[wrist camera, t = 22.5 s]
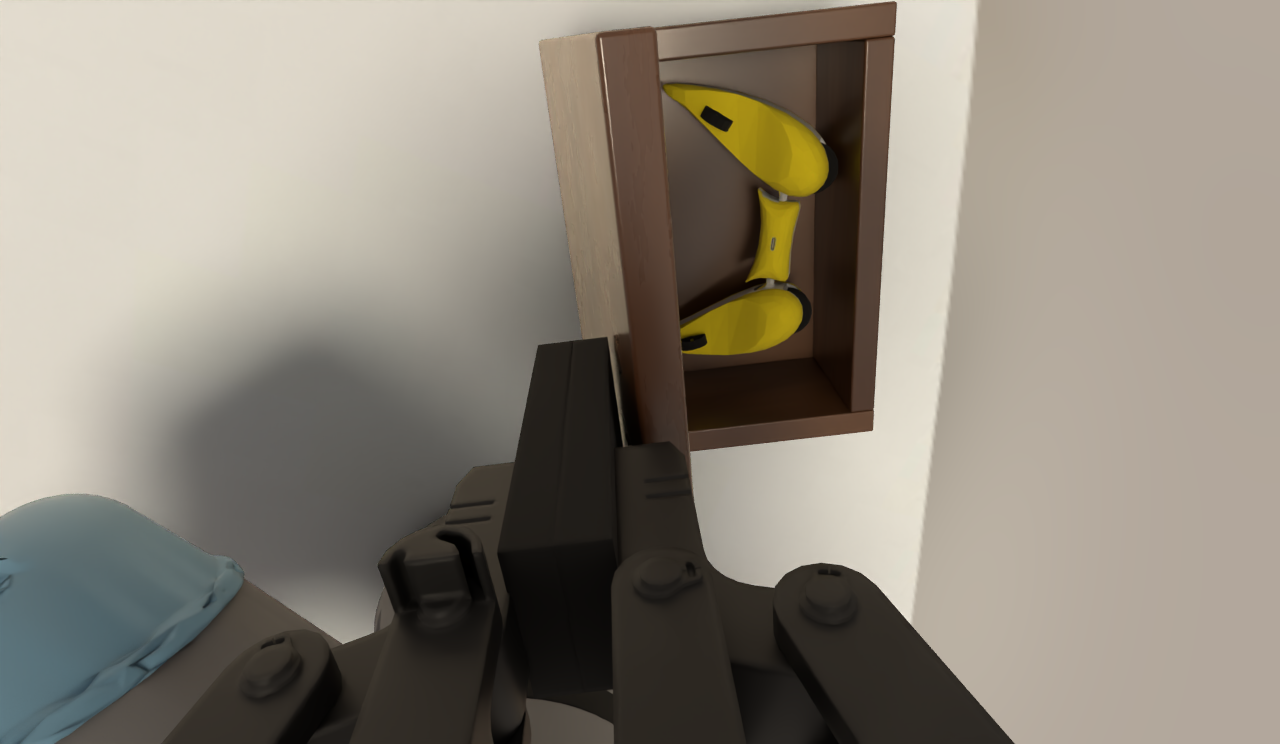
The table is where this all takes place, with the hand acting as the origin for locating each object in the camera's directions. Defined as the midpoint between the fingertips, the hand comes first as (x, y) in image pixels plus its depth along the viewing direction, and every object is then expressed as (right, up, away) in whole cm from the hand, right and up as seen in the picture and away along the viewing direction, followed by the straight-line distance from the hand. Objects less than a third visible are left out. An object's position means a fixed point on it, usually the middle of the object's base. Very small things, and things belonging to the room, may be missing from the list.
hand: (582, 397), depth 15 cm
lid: (+1, +1, +3) cm, 3 cm away
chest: (+4, +7, +13) cm, 15 cm away
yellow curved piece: (+5, +7, +12) cm, 15 cm away
